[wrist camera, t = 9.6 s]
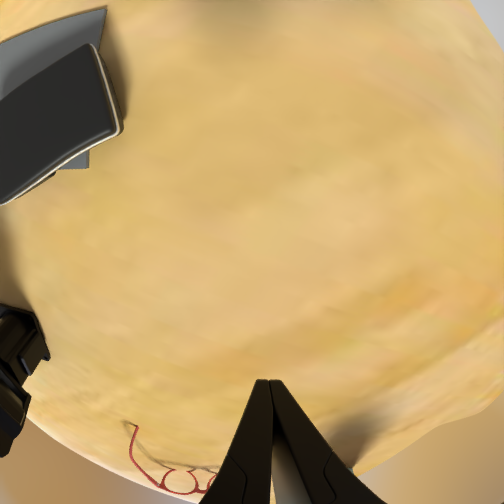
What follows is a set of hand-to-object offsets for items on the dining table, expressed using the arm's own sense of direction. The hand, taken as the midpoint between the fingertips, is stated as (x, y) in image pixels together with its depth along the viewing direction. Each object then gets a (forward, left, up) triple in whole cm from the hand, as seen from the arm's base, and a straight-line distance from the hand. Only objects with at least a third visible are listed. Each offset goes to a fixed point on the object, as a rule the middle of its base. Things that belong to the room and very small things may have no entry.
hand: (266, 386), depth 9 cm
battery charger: (-10, +11, -11) cm, 18 cm away
